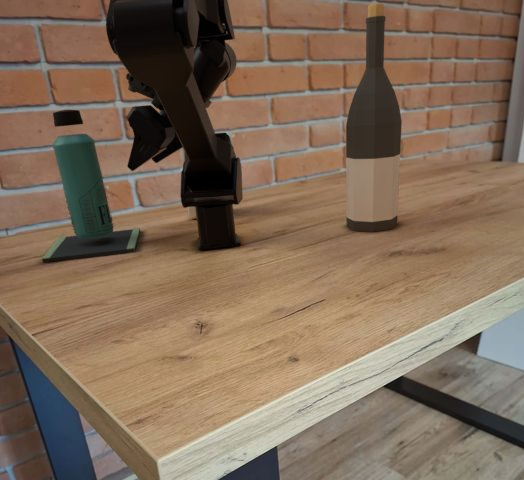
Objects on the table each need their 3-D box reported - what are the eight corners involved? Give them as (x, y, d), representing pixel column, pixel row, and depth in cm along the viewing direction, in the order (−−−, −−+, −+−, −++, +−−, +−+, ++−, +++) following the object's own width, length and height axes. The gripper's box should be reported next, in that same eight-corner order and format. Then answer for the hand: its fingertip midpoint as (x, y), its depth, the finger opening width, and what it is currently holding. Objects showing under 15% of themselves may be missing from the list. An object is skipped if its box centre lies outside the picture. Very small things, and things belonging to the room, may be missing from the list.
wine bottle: (346, 232, 80) (345, 3, 66) (346, 221, 87) (346, 11, 73) (399, 230, 78) (409, -4, 65) (395, 219, 85) (404, 5, 72)
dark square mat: (135, 251, 79) (134, 247, 79) (42, 262, 78) (41, 258, 78) (140, 231, 92) (139, 227, 92) (61, 240, 90) (60, 236, 90)
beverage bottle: (109, 246, 82) (79, 108, 73) (69, 248, 82) (35, 112, 73) (122, 235, 87) (95, 107, 78) (84, 238, 88) (54, 111, 79)
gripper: (178, 47, 83) (130, 125, 91) (125, 38, 67) (72, 134, 75) (229, 97, 85) (178, 169, 92) (190, 99, 69) (131, 187, 76)
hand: (142, 164), depth 84 cm, fingers open, 9 cm apart
